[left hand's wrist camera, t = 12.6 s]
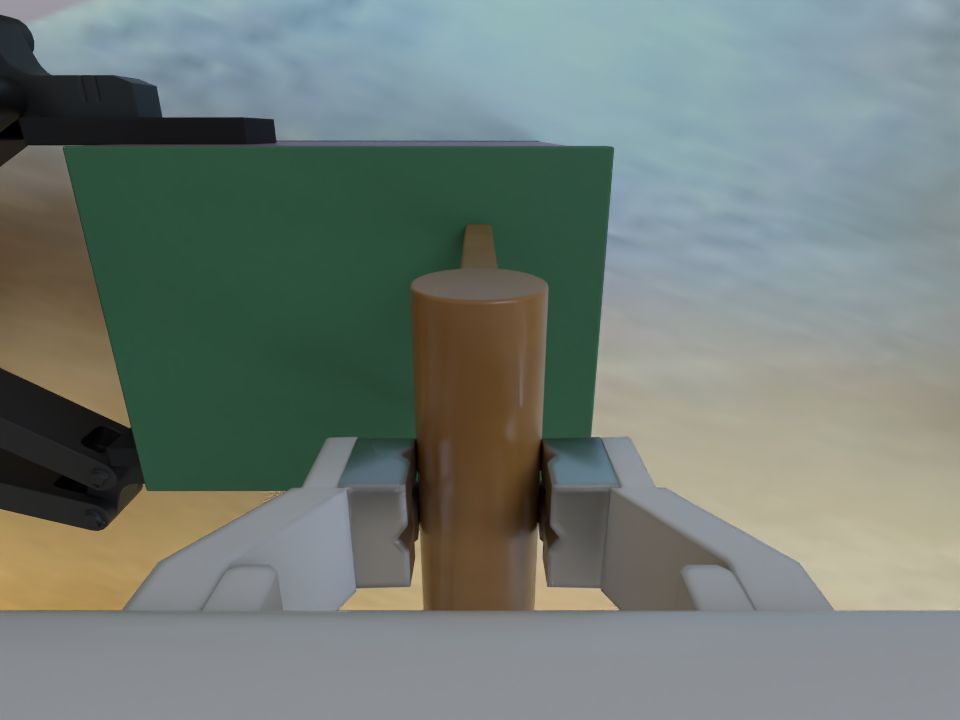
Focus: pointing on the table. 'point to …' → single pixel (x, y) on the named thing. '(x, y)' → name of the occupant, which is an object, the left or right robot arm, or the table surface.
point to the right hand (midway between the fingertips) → (282, 300)
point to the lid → (358, 323)
